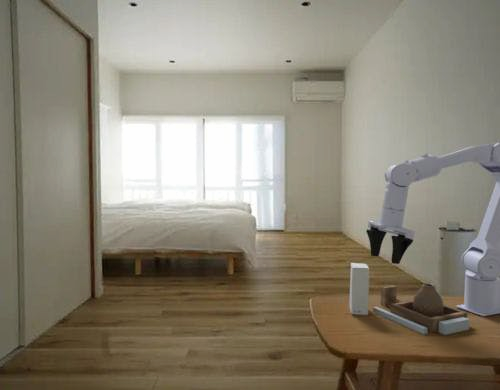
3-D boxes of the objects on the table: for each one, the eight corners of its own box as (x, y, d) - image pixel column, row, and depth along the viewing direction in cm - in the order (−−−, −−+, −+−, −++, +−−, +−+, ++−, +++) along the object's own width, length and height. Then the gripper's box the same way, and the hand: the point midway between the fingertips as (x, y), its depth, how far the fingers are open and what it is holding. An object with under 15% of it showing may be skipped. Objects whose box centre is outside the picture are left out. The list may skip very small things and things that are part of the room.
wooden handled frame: (402, 301, 113) (403, 283, 113) (466, 325, 95) (467, 304, 95) (369, 306, 108) (369, 288, 108) (430, 332, 90) (431, 310, 90)
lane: (407, 306, 109) (408, 297, 108) (469, 329, 92) (469, 319, 92) (373, 311, 103) (373, 302, 103) (431, 337, 87) (431, 326, 87)
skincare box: (368, 315, 101) (369, 268, 100) (351, 314, 101) (352, 267, 101) (365, 308, 107) (366, 263, 106) (349, 306, 107) (350, 262, 107)
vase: (446, 326, 94) (448, 289, 93) (415, 324, 95) (416, 287, 95) (439, 316, 100) (440, 282, 100) (409, 314, 102) (410, 280, 101)
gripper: (363, 204, 111) (355, 252, 112) (403, 211, 98) (393, 266, 99) (382, 206, 114) (374, 253, 115) (423, 214, 101) (414, 267, 102)
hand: (384, 259), depth 107 cm, fingers open, 7 cm apart
